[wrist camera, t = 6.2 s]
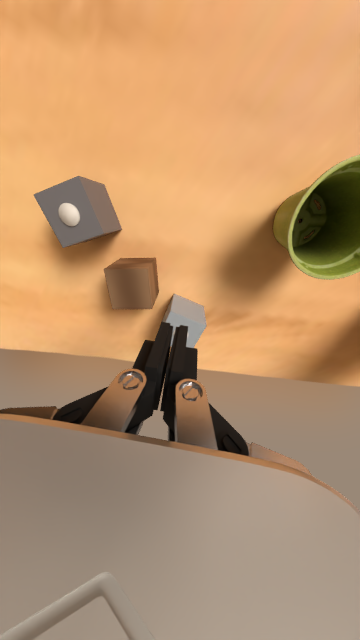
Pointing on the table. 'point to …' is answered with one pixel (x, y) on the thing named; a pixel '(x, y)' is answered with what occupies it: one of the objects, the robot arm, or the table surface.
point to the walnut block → (132, 283)
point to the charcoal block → (78, 210)
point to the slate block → (186, 318)
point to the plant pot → (324, 223)
